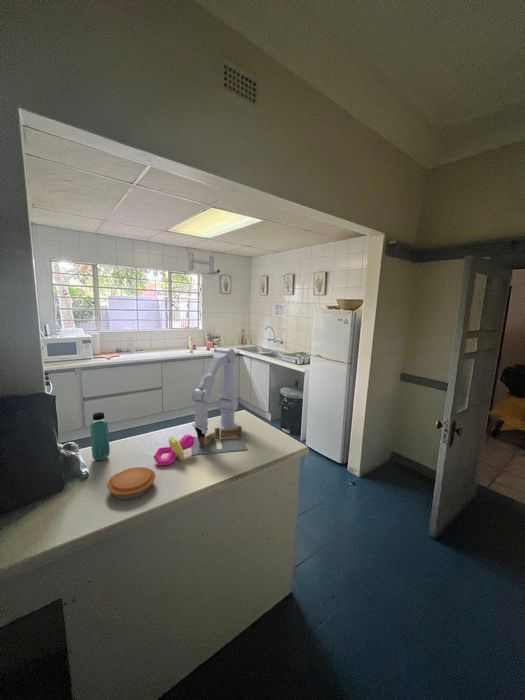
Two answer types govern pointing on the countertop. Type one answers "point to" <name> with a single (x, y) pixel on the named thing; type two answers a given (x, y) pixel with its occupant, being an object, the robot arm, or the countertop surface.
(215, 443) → the card
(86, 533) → the countertop surface
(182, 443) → the toy
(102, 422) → the beverage bottle
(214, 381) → the robot arm
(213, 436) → the fence hinged
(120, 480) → the pie
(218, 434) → the fence fixed
